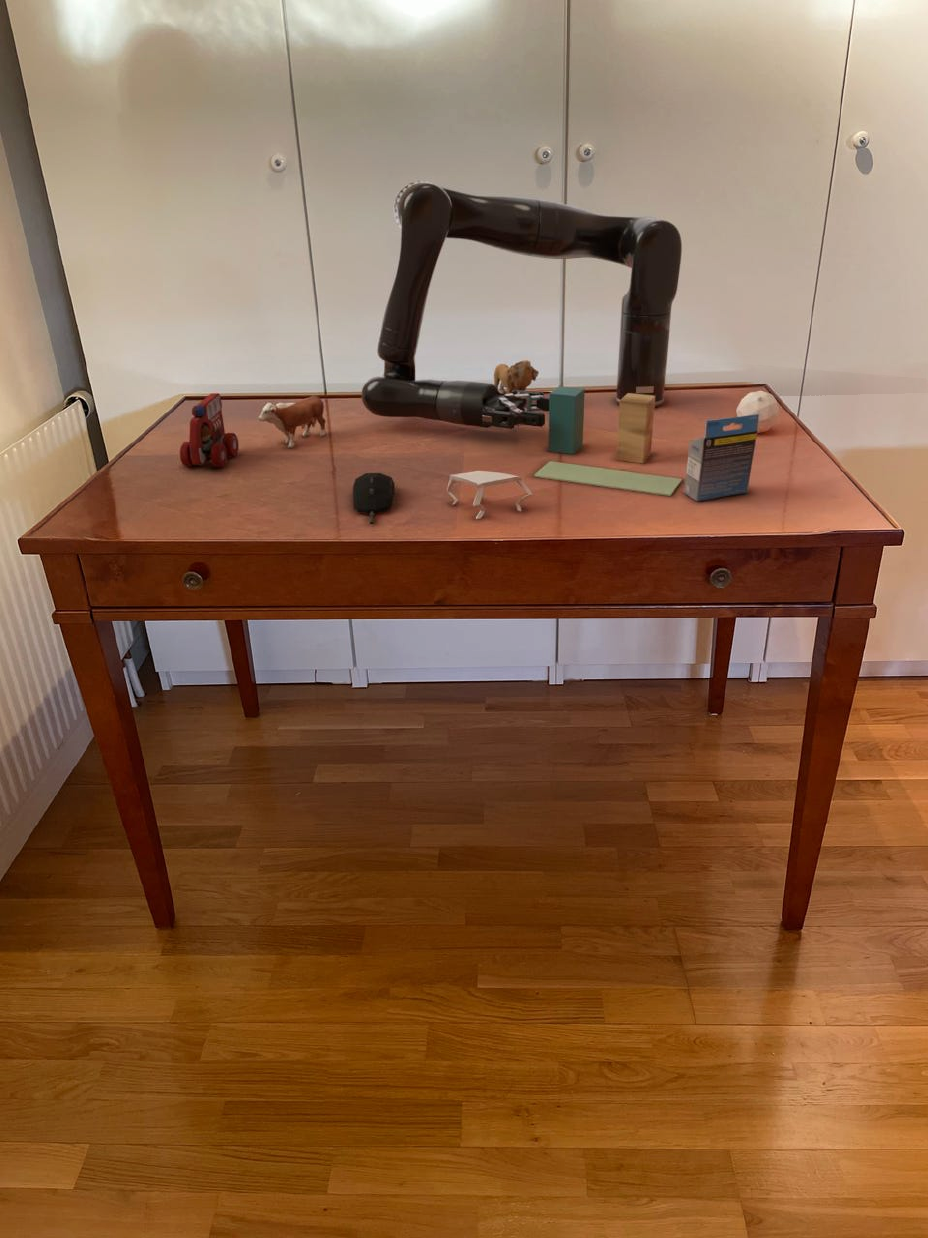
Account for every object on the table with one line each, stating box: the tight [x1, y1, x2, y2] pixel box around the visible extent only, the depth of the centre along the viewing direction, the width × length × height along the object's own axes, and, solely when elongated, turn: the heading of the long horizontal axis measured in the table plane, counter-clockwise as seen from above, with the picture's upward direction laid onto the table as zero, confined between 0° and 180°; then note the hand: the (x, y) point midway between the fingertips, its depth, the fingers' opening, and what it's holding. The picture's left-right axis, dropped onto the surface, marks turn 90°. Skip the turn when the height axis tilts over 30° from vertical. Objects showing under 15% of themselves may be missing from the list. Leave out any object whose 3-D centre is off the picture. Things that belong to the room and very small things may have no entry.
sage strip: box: [533, 460, 683, 497], centre depth 139 cm, size 7×22×1 cm, turn 64°
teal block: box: [547, 385, 586, 455], centre depth 149 cm, size 5×5×10 cm
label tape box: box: [683, 414, 759, 502], centre depth 129 cm, size 9×4×12 cm, turn 108°
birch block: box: [615, 393, 656, 464], centre depth 145 cm, size 5×5×10 cm
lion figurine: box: [493, 359, 540, 395], centre depth 175 cm, size 15×5×9 cm, turn 33°
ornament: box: [735, 390, 781, 434], centre depth 155 cm, size 7×7×8 cm
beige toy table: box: [446, 470, 533, 520], centre depth 129 cm, size 12×8×5 cm
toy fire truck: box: [179, 392, 240, 468], centre depth 149 cm, size 7×12×10 cm, turn 171°
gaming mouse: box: [352, 472, 396, 525], centre depth 132 cm, size 6×15×4 cm, turn 3°
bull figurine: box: [258, 394, 327, 449], centre depth 157 cm, size 4×13×8 cm, turn 137°
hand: (553, 412), depth 150 cm, fingers open, 8 cm apart
